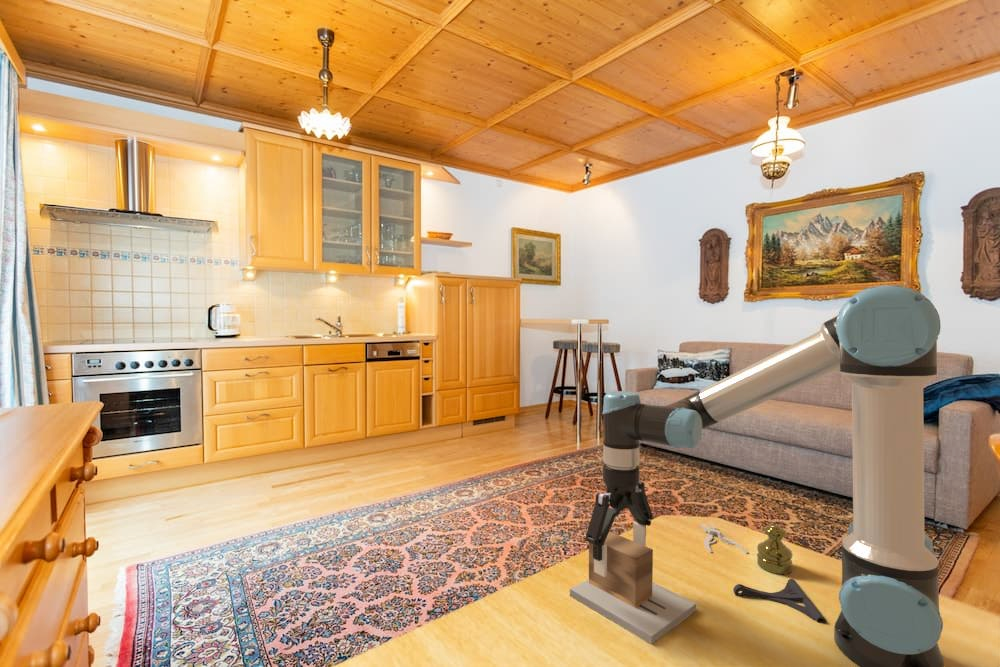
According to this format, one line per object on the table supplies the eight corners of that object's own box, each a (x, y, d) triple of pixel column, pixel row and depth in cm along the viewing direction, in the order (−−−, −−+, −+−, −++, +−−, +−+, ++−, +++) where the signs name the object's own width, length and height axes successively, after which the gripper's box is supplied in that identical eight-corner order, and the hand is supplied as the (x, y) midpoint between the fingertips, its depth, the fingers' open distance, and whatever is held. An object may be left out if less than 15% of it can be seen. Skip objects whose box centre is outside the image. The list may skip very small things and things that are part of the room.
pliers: (709, 548, 123) (689, 522, 138) (709, 554, 123) (689, 528, 138) (749, 549, 122) (725, 523, 137) (749, 555, 122) (724, 529, 137)
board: (696, 610, 99) (696, 603, 99) (651, 644, 88) (651, 635, 88) (615, 570, 114) (615, 564, 114) (569, 595, 104) (569, 588, 104)
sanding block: (652, 596, 101) (652, 549, 100) (635, 607, 97) (635, 558, 97) (605, 573, 110) (606, 529, 110) (588, 582, 106) (589, 537, 106)
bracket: (725, 579, 112) (725, 567, 112) (795, 585, 109) (795, 573, 109) (744, 618, 98) (744, 604, 97) (826, 626, 95) (826, 612, 95)
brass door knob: (753, 567, 116) (754, 526, 115) (761, 556, 121) (761, 517, 121) (788, 578, 111) (789, 535, 110) (795, 566, 116) (795, 525, 116)
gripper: (640, 450, 113) (639, 539, 114) (567, 472, 97) (567, 576, 98) (669, 457, 108) (668, 551, 108) (597, 482, 92) (597, 592, 92)
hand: (620, 563), depth 103 cm, fingers open, 13 cm apart
